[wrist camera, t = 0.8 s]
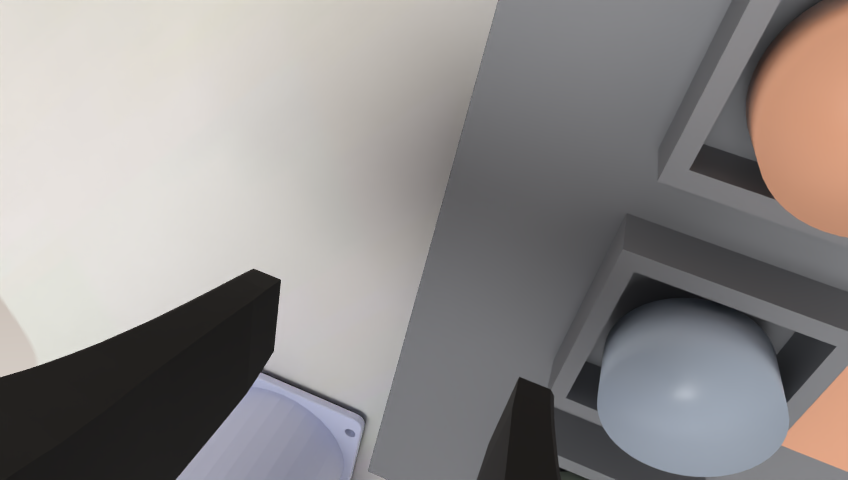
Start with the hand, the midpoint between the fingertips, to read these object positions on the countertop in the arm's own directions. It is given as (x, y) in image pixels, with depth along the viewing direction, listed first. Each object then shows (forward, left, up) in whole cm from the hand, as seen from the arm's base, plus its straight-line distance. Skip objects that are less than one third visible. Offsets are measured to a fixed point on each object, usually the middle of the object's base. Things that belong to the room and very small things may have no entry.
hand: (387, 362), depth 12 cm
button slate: (-2, -7, -6) cm, 9 cm away
